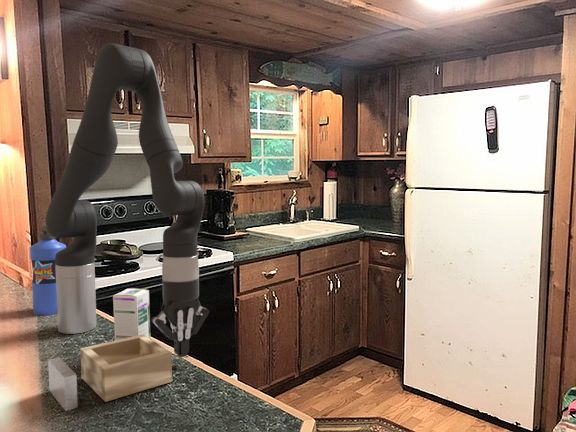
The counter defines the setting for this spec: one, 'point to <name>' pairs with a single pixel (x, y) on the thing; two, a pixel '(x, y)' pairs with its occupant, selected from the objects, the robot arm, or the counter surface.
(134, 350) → the open wooden box
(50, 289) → the water bottle
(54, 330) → the counter surface
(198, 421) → the counter surface
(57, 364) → the backstop wall
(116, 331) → the syrup box
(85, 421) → the counter surface
